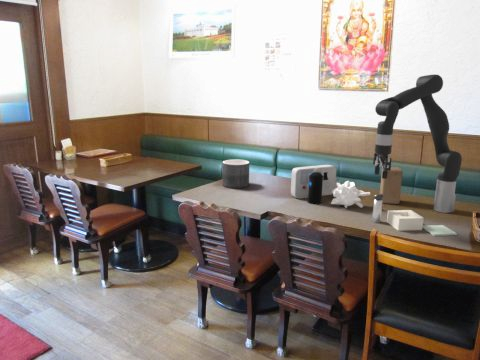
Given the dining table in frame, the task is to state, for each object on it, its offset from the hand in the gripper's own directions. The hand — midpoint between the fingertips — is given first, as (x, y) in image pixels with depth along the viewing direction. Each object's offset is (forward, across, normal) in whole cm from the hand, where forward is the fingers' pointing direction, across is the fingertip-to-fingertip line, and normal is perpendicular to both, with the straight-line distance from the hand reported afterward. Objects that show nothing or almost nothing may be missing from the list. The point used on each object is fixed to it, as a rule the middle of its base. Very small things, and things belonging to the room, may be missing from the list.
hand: (380, 176), depth 197 cm
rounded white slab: (+24, +48, +19) cm, 57 cm away
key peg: (+23, 0, 0) cm, 23 cm away
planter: (+24, +76, +64) cm, 102 cm away
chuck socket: (+23, -7, -11) cm, 27 cm away
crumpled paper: (+24, +26, +6) cm, 36 cm away
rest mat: (+23, -15, -24) cm, 37 cm away
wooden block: (+24, +32, -22) cm, 45 cm away
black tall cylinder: (+24, +34, +22) cm, 47 cm away
